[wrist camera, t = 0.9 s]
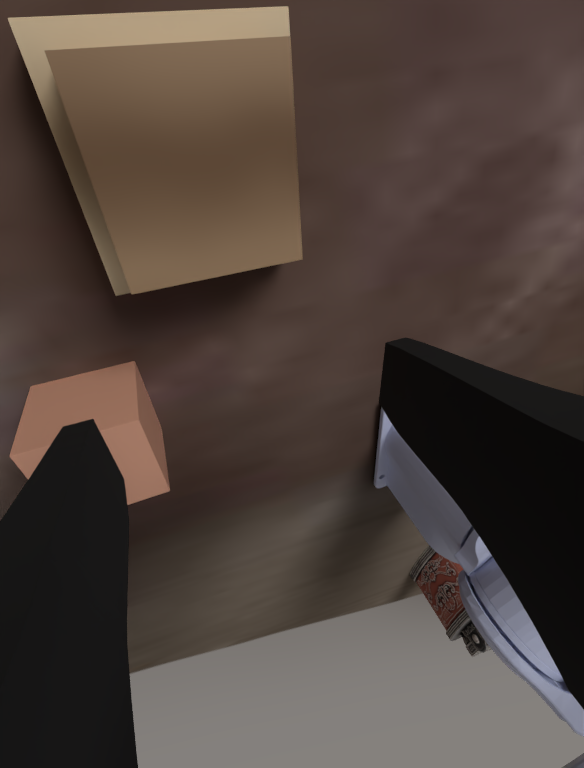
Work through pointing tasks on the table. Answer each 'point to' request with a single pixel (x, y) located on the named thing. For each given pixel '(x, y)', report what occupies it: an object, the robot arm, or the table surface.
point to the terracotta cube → (98, 425)
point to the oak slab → (121, 32)
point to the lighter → (447, 598)
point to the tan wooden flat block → (188, 153)
